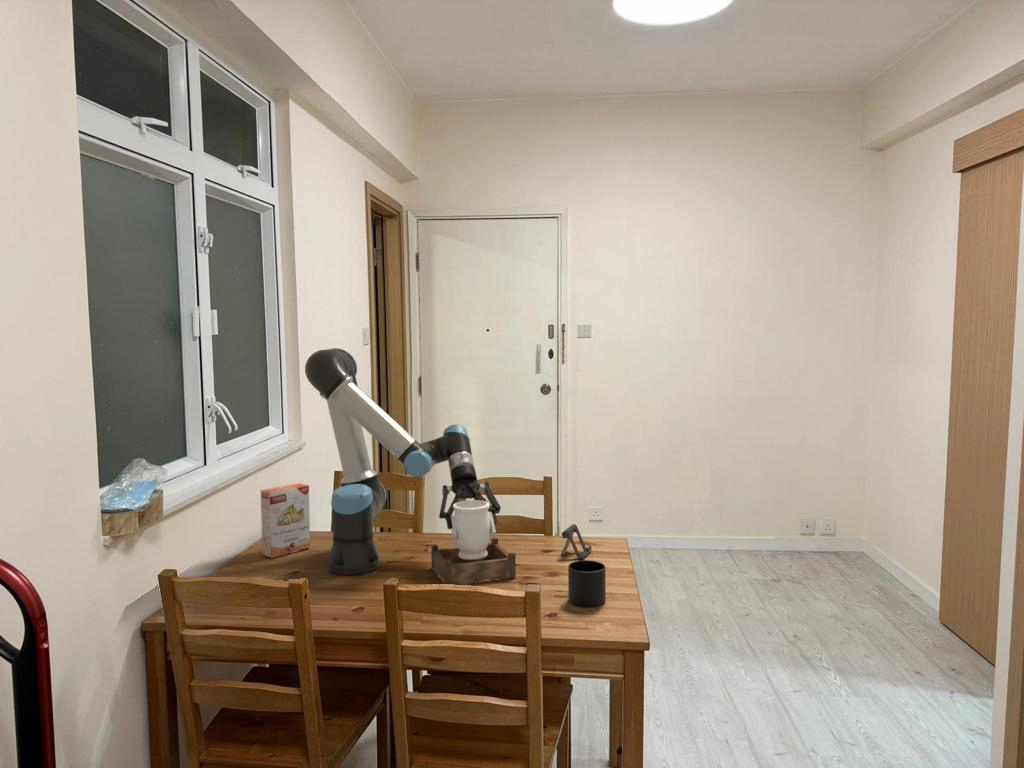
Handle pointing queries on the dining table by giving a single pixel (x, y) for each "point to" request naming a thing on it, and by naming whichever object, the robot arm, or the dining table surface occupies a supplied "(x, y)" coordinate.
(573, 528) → the portable electronic device stand
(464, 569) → the crate
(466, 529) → the jar
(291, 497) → the cracker box
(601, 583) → the mug
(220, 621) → the dining table surface
